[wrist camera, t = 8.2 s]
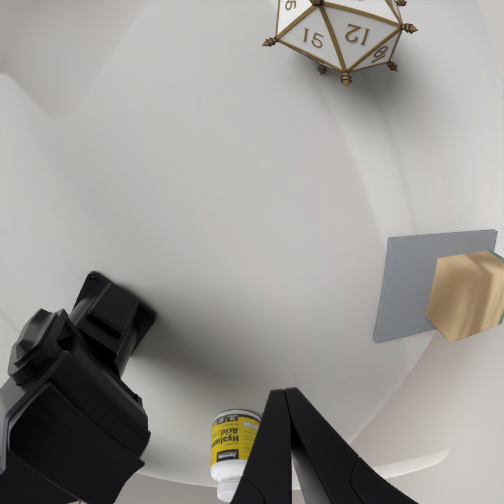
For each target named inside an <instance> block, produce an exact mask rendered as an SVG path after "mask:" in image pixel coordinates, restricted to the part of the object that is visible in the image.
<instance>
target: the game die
mask: <svg viewBox="0 0 504 504" xmlns="http://www.w3.org/2000/svg"><path fill="white" fill-rule="evenodd" d="M406 3H407V2H406V1H404V0H397V1H395V0H279V1H278V12H277V24H276V35H275V37H274V38H270V39H266V41H265V42H264V43H263V45H262V46H270V47H271V46H272V45H275V43H276V42H280V43H282V44H284V45H286V46H288V47H290V48H292V49H294V50H296V51H297V52H299V53H301V54H303V55H305V56H307V57H308V58H310V59H312V60H314V61H315V62H317V63H319V64H321V65H320V66H319V68H318V70H319V72H320V75H321V74H323V73H325V71H326V68H327V67H328V68H330V69H333V70H336V71H338V72H341V73H343V75H342V77H341V79H342V80H341V82H342V83H343V84H344V85H345V86H346V88H347V86H348V85H349V84H350V82H352V81H351V79H350V78H351V77H350V75H349V73H352V72H355V71H359V70H362V69H366V68H370V67H373V66H377V65H381V64H385V63H386V64H388V68H390V70H394V71H397V65H395V64H394V62H391V61H390V60H391V57H392V55H393V52H394V50H395V48H396V45H397V43H398V40H399V38H400V35H401V33H402V30H405V31H406V32H407V33H408V32H410V33H411V34H412V33H413V32H416V31H418V30H417V29H416V28H415V27H414V26H413V24H407V23H405V24H403V22H402V19H401V15H400V12H399V8H398V6H405V4H406Z"/></svg>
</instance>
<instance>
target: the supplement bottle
mask: <svg viewBox="0 0 504 504" xmlns="http://www.w3.org/2000/svg"><path fill="white" fill-rule="evenodd" d="M260 422H261V420H260V418H259V417H258V416H257V415H255V414H254V413H251V412H248V411H244V410H230V411H226V412H223V413H221V414H219V415H217V416H216V417H215V419H214V420H213V426H212V444H211V465H210V471H211V476H212V477H213V479H214V480H216V481H217V482H219V484H218V485H217V497H218V499H220V500H222V501H225V502H231V500H232V498H233V496H234V493H235V491H236V489H237V486H238V484H239V481H240V479H241V476H243V475H242V474H243V471H244V468H245V465H246V463H247V460H248V457H249V454H250V451H251V448H252V445H253V443H254V440H255V437H256V434H257V431H258V428H259V425H260Z"/></svg>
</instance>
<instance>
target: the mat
mask: <svg viewBox="0 0 504 504" xmlns="http://www.w3.org/2000/svg"><path fill="white" fill-rule="evenodd" d="M496 237H497V231H496V230H494V229H492V230H480V231H467V232H454V233H441V234H429V235H416V236H403V237H391V238H388V247H387V256H386V265H385V273H384V280H383V287H382V293H381V299H380V305H379V311H378V317H377V322H376V327H375V332H374V337H373V340H374V342H375V343H379V342H383V341H388V340H392V339H397V338H401V337H405V336H409V335H413V334H417V333H421V332H424V331H428V330H432V329H435V328H436V327H435V326H434V325H433V324H432V323H431V322H430V321H429V320H428V319H427V318H426V316H425V314H426V310H427V306H428V302H429V298H430V294H431V290H432V285H433V281H434V276H435V271H436V266H437V260H438V258H441V257H448V256H456V255H463V254H470V253H476V252H483V251H489V250H491V251H492V252H494V247H495V242H496Z"/></svg>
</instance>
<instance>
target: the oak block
mask: <svg viewBox="0 0 504 504" xmlns="http://www.w3.org/2000/svg"><path fill="white" fill-rule="evenodd" d="M425 316H426V318H427V319H428V320H429V321H430V322H431V323H432V324H433V325H434V326H435V327H436V328H437V330H438V331H439V332H440V333H441V334H442V335H443V336H444V337H445V339H446V340H447V341H448V342H449V343H451V342H454V341H457V340H460V339H463V338H466V337H468V336H471V335H473V334H476V333H479V332H481V331H484V330H486V329H489V328H491V327H494V326H496V325H499V324H501V323H502V321H503V318H504V258H502V257H501V256H499V255H498V254H496V253H494V252H492V251H491V250H489V251H483V252H476V253H470V254H463V255H456V256H448V257H441V258H438V260H437V266H436V271H435V276H434V281H433V285H432V290H431V294H430V298H429V302H428V306H427V310H426V314H425Z"/></svg>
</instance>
